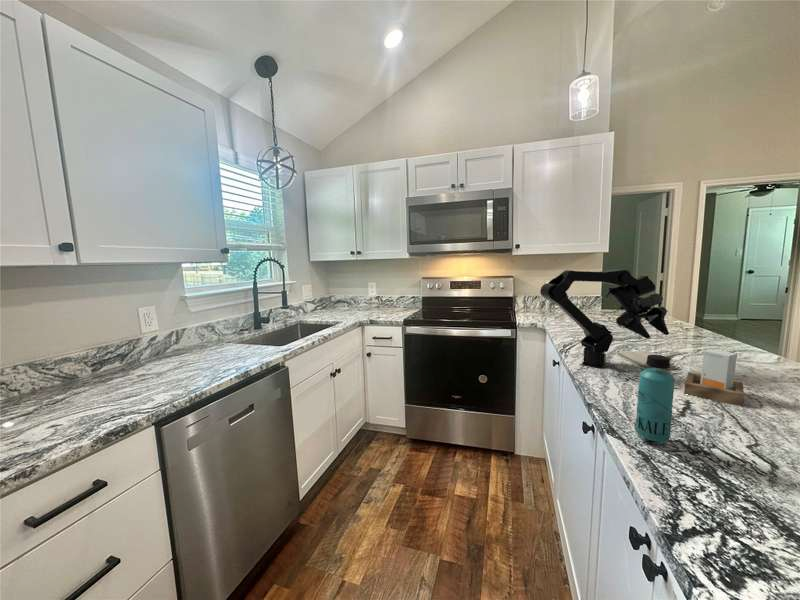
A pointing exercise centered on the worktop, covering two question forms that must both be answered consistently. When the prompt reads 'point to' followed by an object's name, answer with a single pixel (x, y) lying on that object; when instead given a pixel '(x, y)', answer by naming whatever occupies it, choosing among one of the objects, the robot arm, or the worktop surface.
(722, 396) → the walnut holder
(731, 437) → the worktop surface
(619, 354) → the washcloth
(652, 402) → the beverage bottle
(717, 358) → the skincare box
